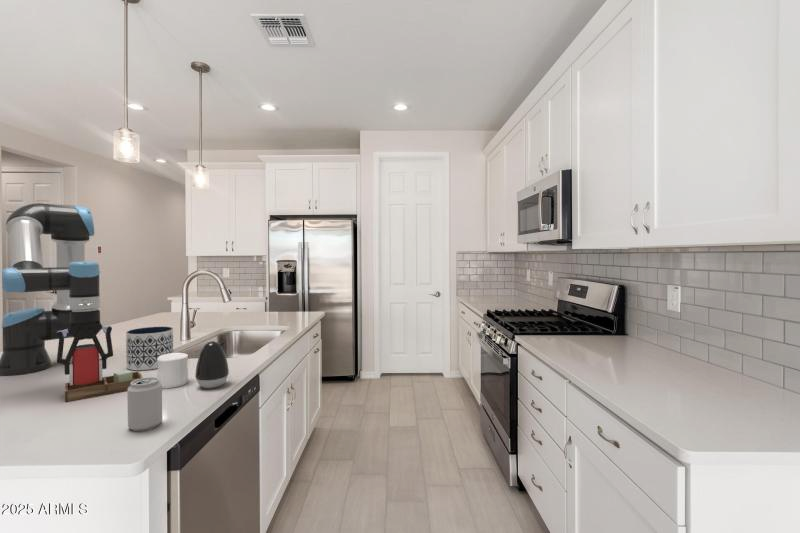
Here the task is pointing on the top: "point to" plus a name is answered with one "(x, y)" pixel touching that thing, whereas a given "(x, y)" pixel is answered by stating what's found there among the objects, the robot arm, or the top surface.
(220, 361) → the egg shaped speaker
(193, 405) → the top surface
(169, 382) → the cup
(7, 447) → the top surface
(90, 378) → the beer can
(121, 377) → the sage block
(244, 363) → the top surface
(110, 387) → the tray
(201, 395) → the top surface
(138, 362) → the planter
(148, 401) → the can
